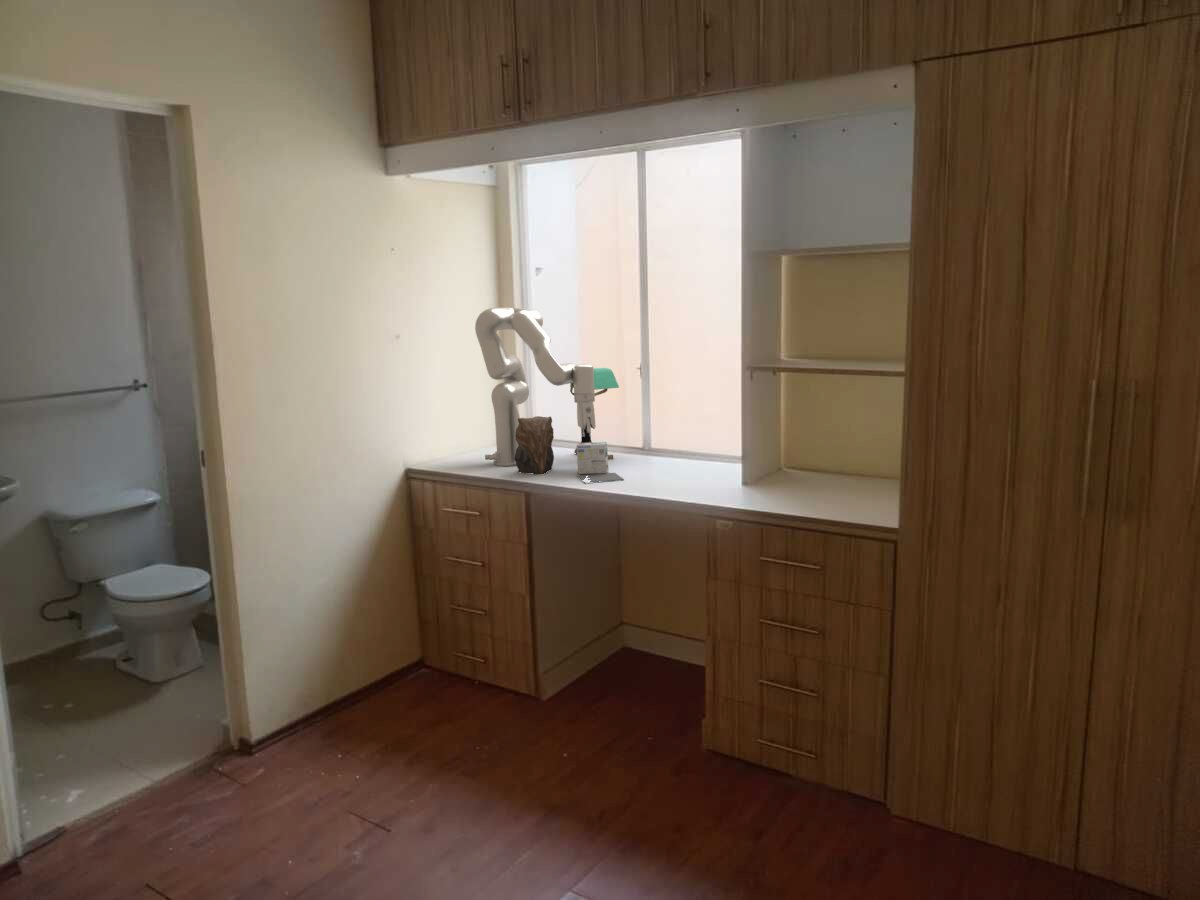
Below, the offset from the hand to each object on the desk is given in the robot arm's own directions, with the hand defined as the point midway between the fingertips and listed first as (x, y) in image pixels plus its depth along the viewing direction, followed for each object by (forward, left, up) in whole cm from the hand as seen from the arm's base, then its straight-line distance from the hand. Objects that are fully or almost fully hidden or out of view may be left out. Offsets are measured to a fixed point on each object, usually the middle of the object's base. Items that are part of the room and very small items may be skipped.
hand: (586, 446), depth 323 cm
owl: (-19, +1, -8) cm, 21 cm away
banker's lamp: (+8, +21, -8) cm, 24 cm away
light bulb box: (0, -10, -8) cm, 13 cm away
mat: (0, -20, -8) cm, 21 cm away
